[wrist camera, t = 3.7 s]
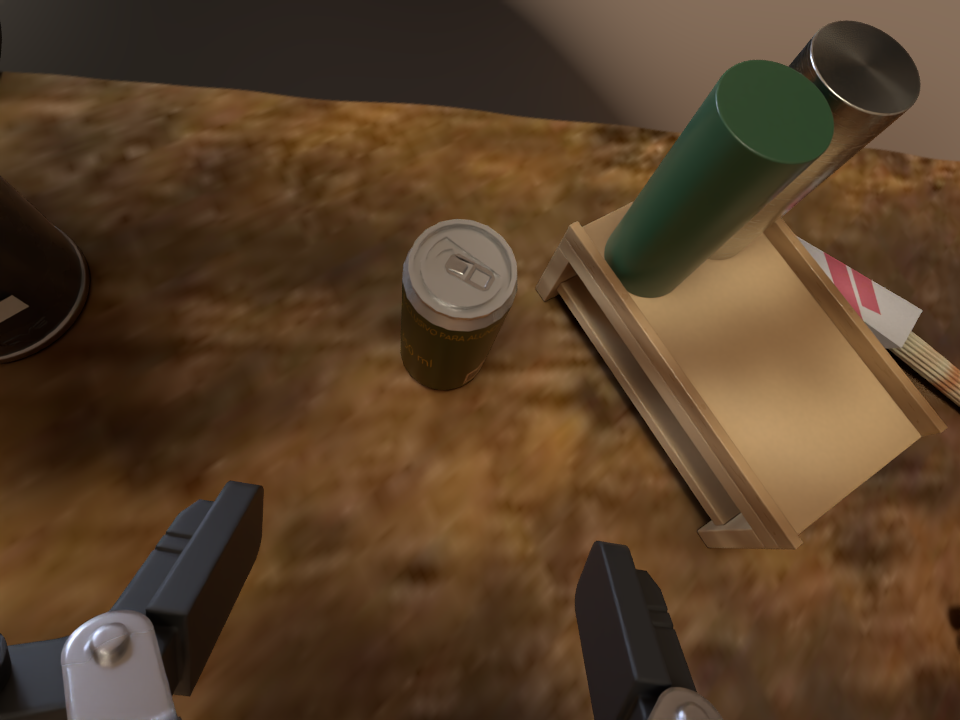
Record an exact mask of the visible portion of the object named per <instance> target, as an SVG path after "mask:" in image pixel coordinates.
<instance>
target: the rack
mask: <svg viewBox="0 0 960 720" xmlns="http://www.w3.org/2000/svg"><path fill="white" fill-rule="evenodd" d="M919 92H920V77H919V73H918V70H917V67H916V65H915V63H914V61H913V60H912V58H911V57H910V55H909V54H908V53H907V51H906V50H905V49H904V48H903V47H902V46H901V45H900V44H899V43H898V42H897V41H896V40H895V39H893V38H892V37H891V36H889V35H888V34H886V33H885V32H883V31H881V30H880V29H877V28H875V27H873V26H871V25H868V24H865V23H861V22H856V21H836V22H832V23H830V24H827V25H825V26H824V27H822V28H821V29H820V30H818V32H817V33H816V34H815V35H814V36H813V37H812V39H811V40H810V41H809V42H808V43H807V45H806V46H805V47H804V48H803V50H802V51H801V52H800V53H799V54H798V56H797V57H796V58H795V59H794V60H793V62H792V63H791V64H790V65H789V67H788V66H785V65H783V64H780V63H776V62H773V61H766V60H749V61H744V62H742V63H738V64H736V65H734V66H733V67H731V68H730V69H728V70H727V71H726V72H725V73H724V74H723V75H722V76H721V78H720V79H719V81H718V82H717V84H716V85H715V86H714V88H713V89H712V91H711V92H710V94H709V95H708V97H707V98H706V99H705V101H704V102H703V104H702V105H701V107H700V108H699V109H698V111H697V112H696V114H695V115H694V116H693V118H692V119H691V121H690V122H689V124H688V125H687V126H686V128H685V129H684V131H683V132H682V134H681V135H680V136H679V138H678V139H677V141H676V142H675V144H674V145H673V147H672V148H671V149H670V151H669V152H668V154H667V155H666V157H665V158H664V159H663V161H662V162H661V164H660V165H659V167H658V168H657V169H656V171H655V172H654V174H653V175H652V177H651V178H650V179H649V181H648V182H647V184H646V185H645V187H644V188H643V189H642V191H641V192H640V194H639V195H638V197H637V198H636V199H635V201H634V202H632V203H630V204H628V205H626V206H624V207H622V208H620V209H618V210H616V211H614V212H612V213H609V214H607V215H605V216H603V217H601V218H599V219H597V220H595V221H593V222H591V223H589V224H587V225H585V226H583V227H582V226H581V225H580V223H579V222H578V221H577V222H575V223H573V224H571V225H570V226H569V228H568V229H567V231H566V233H565V235H564V237H563V239H562V241H561V242H560V244H559V246H558V248H557V249H556V251H555V253H554V255H553V257H552V259H551V260H550V262H549V264H548V266H547V268H546V269H545V271H544V273H543V275H542V277H541V279H540V280H539V282H538V284H537V286H536V290H537V291H538V293H539V294H540V296H541V297H542V299H543V300H544V302H545V301H547V300H549V299H551V298H553V297H555V296H556V295H558V294H560V295H561V297H562V298H563V300H564V301H565V303H566V304H567V306H568V307H569V309H570V310H571V312H572V313H573V315H574V316H575V318H576V319H577V321H578V322H579V324H580V325H581V327H582V328H583V330H584V331H585V333H586V334H587V336H588V337H589V339H590V340H591V342H592V343H593V345H594V346H595V348H596V349H597V350H598V352H599V353H600V355H601V356H602V358H603V359H604V361H605V362H606V364H607V365H608V367H609V368H610V370H611V371H612V373H613V374H614V376H615V377H616V379H617V380H618V382H619V383H620V385H621V386H622V388H623V389H624V391H625V392H626V394H627V395H628V397H629V398H630V400H631V401H632V403H633V404H634V406H635V407H636V408H637V410H638V411H639V413H640V414H641V416H642V417H643V419H644V420H645V422H646V423H647V425H648V426H649V428H650V429H651V431H652V432H653V434H654V435H655V437H656V438H657V440H658V441H659V443H660V444H661V446H662V447H663V449H664V450H665V452H666V453H667V455H668V456H669V458H670V459H671V461H672V462H673V464H674V465H675V467H676V468H677V469H678V471H679V472H680V474H681V475H682V477H683V478H684V480H685V481H686V483H687V484H688V486H689V487H690V489H691V490H692V492H693V493H694V495H695V496H696V498H697V499H698V501H699V502H700V504H701V505H702V507H703V508H704V510H705V511H706V513H707V514H708V516H709V517H710V519H711V521H710V522H709V523H707V524H706V525H705V526H703V527H702V528H700V529H699V530H698V531H697V532H698V534H699V535H700V537H701V538H702V540H703V541H704V543H705V544H706V546H707V547H708V548H751V549H797V548H798V547H800V546H801V545H802V544H803V541H802V540H801V538H800V537H799V535H798V534H800V533H801V532H802V531H803V530H805V529H806V528H807V527H808V526H810V525H811V524H812V523H813V522H815V521H816V520H817V519H818V518H820V517H821V516H822V515H823V514H825V513H826V512H827V511H829V510H830V509H831V508H832V507H834V506H835V505H836V504H837V503H839V502H840V501H841V500H842V499H844V498H845V497H846V496H847V495H849V494H850V493H851V492H852V491H854V490H855V489H856V488H857V487H859V486H860V485H861V484H863V483H864V482H865V481H866V480H868V479H869V478H870V477H871V476H873V475H874V474H875V473H876V472H878V471H879V470H880V469H881V468H883V467H884V466H885V465H886V464H888V463H889V462H890V461H892V460H893V459H894V458H895V457H897V456H898V455H899V454H900V453H902V452H903V451H904V450H905V449H907V448H908V447H909V446H910V445H912V444H913V443H914V442H915V441H917V440H918V439H919V438H920V437H922V436H928V435H933V434H938V433H942V432H943V431H944V430H945V429H947V426H946V425H945V424H944V422H943V421H942V420H941V418H940V417H939V416H938V415H937V413H936V412H935V411H934V410H933V408H932V407H931V406H930V405H929V403H928V402H927V401H926V400H925V398H924V397H923V396H922V395H921V393H920V392H919V391H918V389H917V388H916V387H915V386H914V384H913V383H912V382H911V381H910V379H909V378H908V377H907V376H906V374H905V373H904V372H903V371H902V369H901V368H900V367H899V365H898V364H897V363H896V362H895V360H894V359H893V358H892V357H891V355H890V354H889V353H888V352H887V350H886V349H885V348H884V347H883V345H882V344H881V343H880V342H879V340H878V339H877V338H876V336H875V335H874V334H873V333H872V331H871V330H870V329H869V328H868V326H867V325H866V324H865V323H864V321H863V320H862V319H861V318H860V316H859V315H858V314H857V312H856V311H855V310H854V309H853V307H852V306H851V305H850V304H849V302H848V301H847V300H846V299H845V297H844V296H843V295H842V294H841V292H840V291H839V290H838V288H837V287H836V286H835V285H834V283H833V282H832V281H831V280H830V278H829V277H828V276H827V275H826V273H825V272H824V271H823V270H822V268H821V267H820V266H819V265H818V263H817V262H816V261H815V259H814V258H813V257H812V256H811V254H810V253H809V252H808V251H807V249H806V248H805V247H804V246H803V244H802V243H801V242H800V241H799V239H798V238H797V237H796V235H795V234H794V233H793V232H792V230H791V229H790V228H789V227H788V225H787V224H786V223H785V222H784V220H783V219H782V218H781V217H782V216H783V215H784V214H785V213H787V212H788V211H789V210H790V209H791V208H793V207H794V206H795V205H796V204H797V203H798V202H800V201H801V200H802V199H803V198H804V197H806V196H807V195H808V194H809V193H810V192H811V191H813V190H814V189H815V188H816V187H817V186H819V185H820V184H821V183H822V182H823V181H824V180H826V179H827V178H828V177H829V176H830V175H832V174H833V173H834V172H835V171H836V170H838V169H839V168H840V167H841V166H842V165H843V164H845V163H846V162H847V161H848V160H849V159H851V158H852V157H853V156H854V155H855V154H856V153H858V152H859V151H860V150H861V149H862V148H864V147H865V146H866V145H867V144H868V143H869V142H871V141H872V140H873V139H874V138H875V137H877V136H878V135H879V134H880V133H881V132H882V131H884V130H885V129H886V128H887V127H888V126H890V125H891V124H892V123H893V122H894V121H895V120H897V119H898V118H899V117H900V116H901V115H903V113H905V112H906V111H907V110H908V109H909V108H911V107H912V106H913V105H914V103H915V102H916V100H917V98H918V96H919Z"/></svg>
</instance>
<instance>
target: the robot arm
mask: <svg viewBox="0 0 960 720" xmlns="http://www.w3.org/2000/svg"><path fill="white" fill-rule="evenodd" d="M1 43H2V35H1V24H0V56H1ZM89 284H90V276H89V269H88V265H87V262H86V260H85V257H84V255H83V253H82V252H81V250H80V249H79V247H78V246H77V245H76V244H75V243H74V242H73V241H72V240H71V239H70V238H69V237H68V236H67V235H66V234H65V233H64V232H63V231H61V230H60V229H58V228H57V227H56V226H54V225H53V224H52V223H51V222H49V221H48V220H47V219H46V218H45V217H44V216H43V215H42V214H41V213H40V212H39V211H38V210H37V209H36V208H35V207H34V206H33V205H32V204H30V203H29V202H28V201H27V200H26V199H25V198H24V197H23V196H22V195H21V194H20V193H19V192H17V191H16V190H15V189H14V188H13V187H12V186H11V185H10V184H9V183H8V182H7V181H6V180H4V179H3V178H2V177H1V176H0V363H6V362H11V361H15V360H18V359H22V358H24V357H27V356H30V355H32V354H34V353H36V352H38V351H40V350H42V349H44V348H45V347H47V346H49V345H50V344H52V343H53V342H54V341H56V340H57V339H58V338H59V337H61V336H62V335H63V334H64V333H65V332H66V331H67V330H68V329H69V328H70V327H71V325H72V324H73V323H74V322H75V320H76V319H77V318H78V316H79V314H80V313H81V311H82V309H83V307H84V305H85V302H86V299H87V296H88V291H89ZM263 497H264V489H263V486H260V485H254V484H248V483H242V482H235V481H229V482H227V483H226V485H225V486H224V488H223V489H222V491H221V492H220V494H219V496H218V497H217V499H216V500H215V502H213V501H207V500H200V499H199V500H198V501H196V502H195V503H194V504H192V505H191V506H189V507H188V508H186V509H185V510H183V511H182V512H181V513H179V514H178V516H177V517H176V519H175V520H174V521H173V523H172V524H171V526H170V527H169V528H168V530H167V531H166V534H165V535H163V537H162V538H161V540H160V541H159V542H158V544H157V545H156V548H155V550H153V551H152V552H151V554H150V555H149V556H148V558H147V559H146V561H145V562H144V564H143V565H142V566H141V568H140V569H139V571H138V572H137V573H136V575H135V576H134V578H133V579H132V580H131V582H130V583H129V585H128V586H127V587H126V589H125V590H124V592H123V593H122V594H121V596H120V597H119V599H118V600H117V602H116V603H115V604H114V606H113V607H112V608H111V609H110V611H109V612H107V613H103V614H101V615H98V616H96V617H94V618H92V619H90V620H88V621H87V622H85V623H84V624H82V625H81V626H80V627H78V628H77V629H76V630H75V631H74V632H73V633H72V634H71V635H69V636H66V637H63V638H58V639H53V640H46V641H39V642H32V643H25V644H18V645H10V646H7V643H6V641H5V638H4V637H3V636H2V634H1V633H0V720H182V719H181V717H177V714H176V711H175V707H174V703H173V700H172V695H173V694H175V695H183V696H191V693H192V691H193V689H194V687H195V685H196V683H197V681H198V679H199V677H200V675H201V673H202V671H203V668H204V666H205V664H206V662H207V660H208V658H209V656H210V654H211V652H212V650H213V648H214V646H215V643H216V641H217V639H218V637H219V635H220V633H221V631H222V629H223V627H224V625H225V623H226V621H227V618H228V616H229V614H230V612H231V610H232V608H233V606H234V604H235V602H236V600H237V598H238V596H239V593H240V591H241V589H242V587H243V585H244V583H245V581H246V579H247V577H248V575H249V573H250V571H251V568H252V566H253V564H254V562H255V560H256V557H257V554H258V551H259V547H260V543H261V537H262V520H263ZM575 612H576V618H577V623H578V629H579V635H580V640H581V646H582V652H583V657H584V663H585V669H586V675H587V680H588V686H589V692H590V697H591V703H592V709H593V714H594V720H723V719H722V717H721V715H720V714H719V712H718V711H717V710H716V709H715V707H714V706H713V705H712V704H711V703H710V702H709V701H708V700H706V699H705V698H704V697H703V696H701V695H699V694H698V693H697V691H696V688H695V686H694V683H693V680H692V677H691V674H690V671H689V669H688V666H687V663H686V660H685V657H684V654H683V652H682V649H681V646H680V643H679V640H678V637H677V635H676V632H675V630H674V629H673V623H672V620H671V618H670V615H669V613H667V606H666V603H665V601H664V598H663V595H662V592H661V589H660V588H659V587H658V585H657V584H656V583H655V582H654V580H653V579H652V578H651V576H650V575H649V574H648V572H647V571H644V570H637V569H635V566H634V562H633V559H632V556H631V553H630V550H629V548H628V547H627V546H626V545H620V544H614V543H608V542H602V541H596V542H594V544H593V546H592V548H591V551H590V553H589V556H588V558H587V561H586V564H585V566H584V569H583V571H582V574H581V576H580V579H579V582H578V584H577V588H576V594H575Z"/></svg>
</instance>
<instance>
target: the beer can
mask: <svg viewBox="0 0 960 720" xmlns="http://www.w3.org/2000/svg"><path fill="white" fill-rule="evenodd" d="M516 292H517V263H516V261H515V258H514V255H513V252H512V249H511V248H510V246H509V245H508V244H507V242H506V241H505V240H504V239H503V237H502V236H501V235H499V234H498V233H497V232H495V231H494V230H493V229H491V228H490V227H489V226H486V225H483V224H481V223H478V222H476V221H473V220H462V219H453V220H448V221H443V222H439V223H437V224H436V225H434V226H432V227H430V228H428V229H426V230H425V231H424V232H423V233H422V234H421V235H420V236H419V237H418V238H417V240H416V241H415V242H414V245H413V247H412V248H411V249H410V251H409V253H408V256H407V258H406V260H405V262H404V265H403V280H402V317H401V356H402V360H403V364H404V366H405V368H406V369H407V371H408V372H409V373H410V375H411V376H412V377H413V378H414V379H416V380H417V381H418V382H419V383H421V384H422V385H425V386H427V387H430V388H433V389H439V390H450V389H454V388H458V387H462V386H463V385H465V384H466V383H468V382H469V381H471V380H472V379H473V378H474V377H475V376H476V374H477V373H478V372H479V371H480V369H481V367H482V365H483V363H484V361H485V359H486V357H487V355H488V353H489V351H490V349H491V347H492V345H493V343H494V341H495V338H496V336H497V334H498V332H499V330H500V328H501V326H502V324H503V322H504V320H505V318H506V316H507V314H508V312H509V310H510V308H511V306H512V303H513V300H514V297H515V295H516Z"/></svg>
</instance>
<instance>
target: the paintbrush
mask: <svg viewBox="0 0 960 720" xmlns="http://www.w3.org/2000/svg"><path fill="white" fill-rule="evenodd" d="M796 237H797V236H796ZM797 238H798V239H799V241H800V242H801V243H802V244H803V246H804V247H805V248H806V249H807V251H808V252H809V253H810V254H811V256H812V257H813V258H814V259H815V261H816V262H817V263H818V265H819V266H820V267H821V268H822V270H823V271H824V272H825V273H826V275H827V276H828V277H829V278H830V280H831V281H832V282H833V283H834V285H835V286H836V287H837V288H838V290H839V291H840V292H841V294H842V295H843V296H844V297H845V299H846V300H847V301H848V302H849V304H850V305H851V306H852V307H853V309H854V310H855V311H856V312H857V314H858V315H859V316H860V318H861V319H862V320H863V321H864V323H865V324H866V325H867V326H868V328H869V329H870V330H871V331H872V333H873V334H874V335H875V336H876V338H877V339H878V340H879V342H880V343H881V344H882V345H883V347H884V348H885V349H887V348H888V349H889V350H890V351H891V352H893V353H894V354H895V355H896V356H898V357H899V358H900V359H901V360H902V361H904V362H905V363H906V364H907V365H909V366H910V367H911V368H912V369H913V370H915V371H916V372H917V373H918V374H920V375H921V376H922V377H923V378H924V379H926V380H927V381H928V382H929V383H931V384H932V385H933V386H934V387H936V388H937V389H938V390H939V391H941V392H942V393H943V394H944V395H945V396H947V397H948V398H949V399H950V400H952V401H953V402H954V403H955V404H957V405H958V406H959V407H960V370H959V369H957V368H956V367H955V366H954V365H953V364H951V363H950V362H949V361H948V360H947V359H945V358H944V357H943V356H942V355H940V354H939V353H938V352H937V351H935V350H934V349H933V348H932V347H931V346H929V345H928V344H927V343H926V342H924V341H923V340H922V339H921V338H919V337H918V336H917V335H916V334H914V333H913V332H912V331H911V330H912V328H913V327H914V325H915V323H916V321H917V319H918V317H919V316H920V314H921V312H922V310H921V309H919V308H918V307H916V306H914V305H913V304H911V303H909V302H908V301H906V300H904V299H902V298H901V297H899V296H897V295H896V294H894V293H892V292H891V291H889V290H887V289H885V288H884V287H882V286H880V285H879V284H877V283H875V282H874V281H872V280H870V279H868V278H867V277H865V276H863V275H862V274H860V273H858V272H857V271H855V270H853V269H851V268H850V267H848V266H846V265H845V264H843V263H841V262H840V261H838V260H836V259H834V258H833V257H831V256H829V255H828V254H826V253H824V252H823V251H821V250H819V249H817V248H816V247H814V246H812V245H811V244H809V243H807V242H806V241H804V240H802V239H800V238H799V237H797Z"/></svg>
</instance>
